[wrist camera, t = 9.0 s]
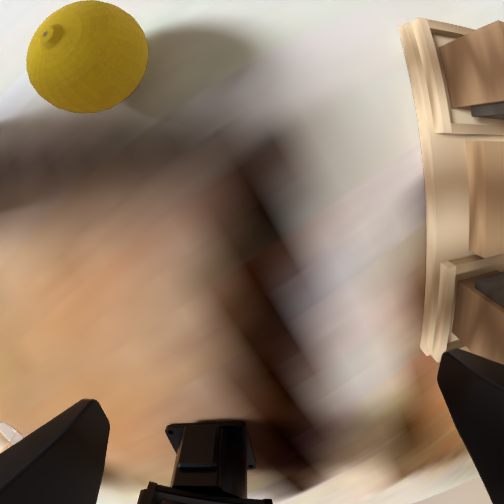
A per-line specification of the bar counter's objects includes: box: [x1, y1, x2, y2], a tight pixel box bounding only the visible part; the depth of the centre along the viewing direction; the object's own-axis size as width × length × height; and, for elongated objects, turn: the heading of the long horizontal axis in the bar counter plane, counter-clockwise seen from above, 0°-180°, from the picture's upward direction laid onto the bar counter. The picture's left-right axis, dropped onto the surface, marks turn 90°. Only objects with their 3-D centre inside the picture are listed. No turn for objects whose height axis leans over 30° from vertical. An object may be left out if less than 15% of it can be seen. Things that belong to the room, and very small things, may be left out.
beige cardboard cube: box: [439, 20, 504, 120], centre depth 11 cm, size 5×4×6 cm
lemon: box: [27, 0, 148, 113], centre depth 11 cm, size 6×6×8 cm
